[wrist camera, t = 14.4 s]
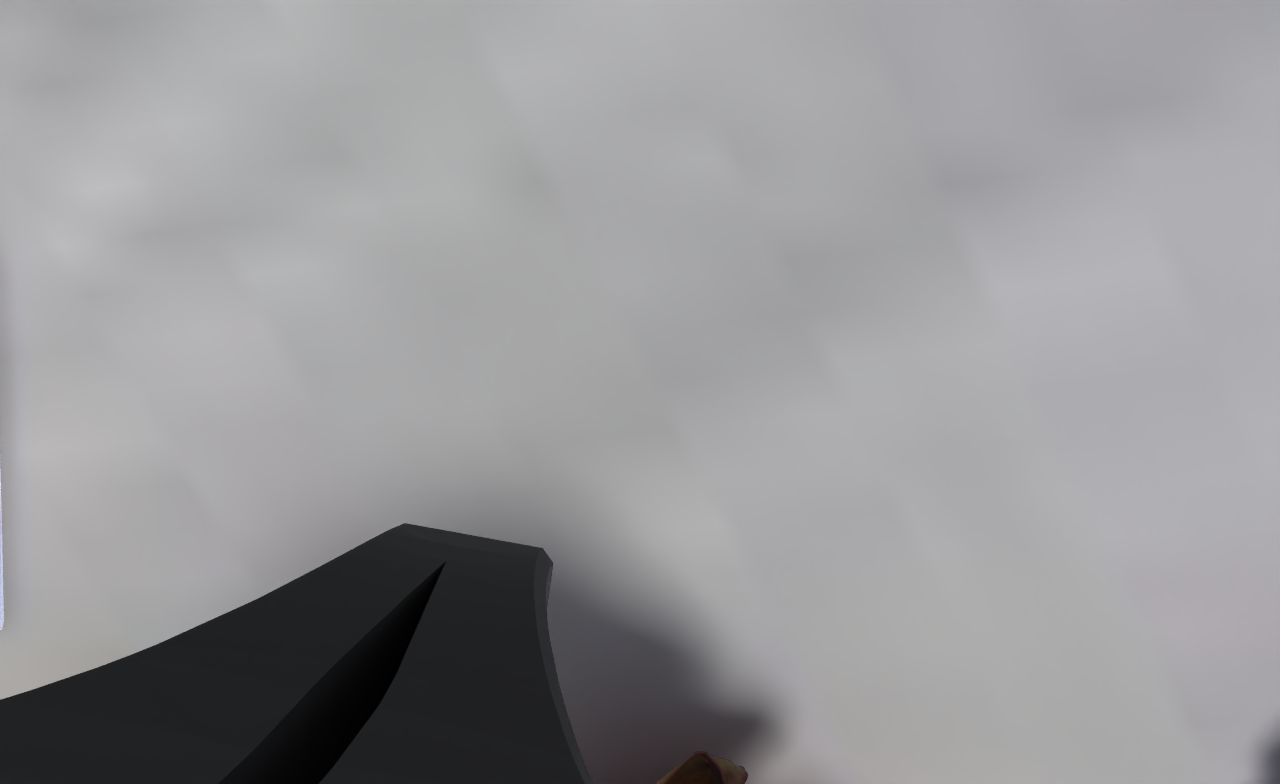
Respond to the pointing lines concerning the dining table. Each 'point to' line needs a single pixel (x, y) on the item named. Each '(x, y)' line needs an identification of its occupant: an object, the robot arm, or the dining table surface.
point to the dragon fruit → (705, 771)
